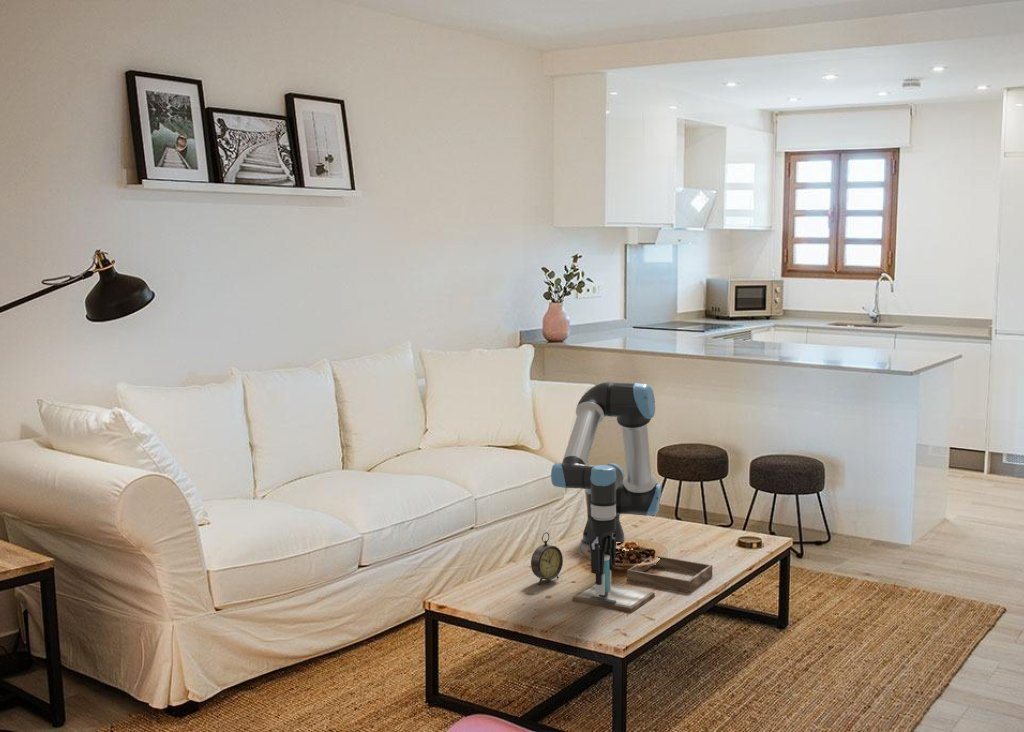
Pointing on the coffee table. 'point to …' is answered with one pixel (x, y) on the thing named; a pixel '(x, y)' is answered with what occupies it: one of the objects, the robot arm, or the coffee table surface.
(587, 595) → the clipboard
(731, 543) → the coffee table surface
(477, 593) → the coffee table surface
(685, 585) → the gray brown tray
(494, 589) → the coffee table surface
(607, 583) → the cylinder
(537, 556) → the alarm clock
